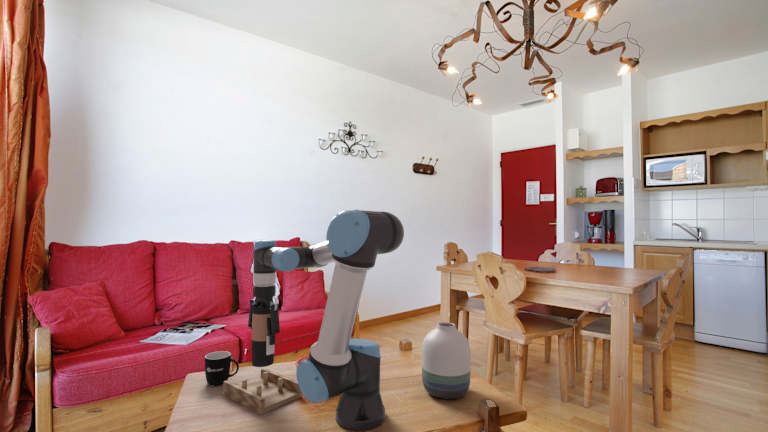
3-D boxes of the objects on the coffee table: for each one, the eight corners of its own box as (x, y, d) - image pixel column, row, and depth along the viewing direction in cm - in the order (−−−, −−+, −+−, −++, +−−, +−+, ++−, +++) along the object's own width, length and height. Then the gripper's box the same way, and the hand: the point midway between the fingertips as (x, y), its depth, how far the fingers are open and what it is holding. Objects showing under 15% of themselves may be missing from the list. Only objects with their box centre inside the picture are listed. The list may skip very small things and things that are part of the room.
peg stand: (301, 396, 129) (301, 380, 129) (261, 414, 116) (261, 396, 116) (263, 379, 142) (263, 365, 143) (223, 394, 130) (223, 378, 130)
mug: (200, 388, 135) (200, 359, 135) (209, 378, 144) (209, 351, 144) (235, 387, 136) (235, 358, 136) (241, 377, 145) (242, 350, 145)
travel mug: (250, 360, 132) (252, 303, 133) (273, 358, 135) (274, 302, 135) (251, 368, 125) (252, 308, 125) (275, 365, 128) (276, 306, 128)
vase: (412, 387, 137) (413, 321, 138) (450, 379, 145) (450, 316, 145) (440, 408, 122) (440, 333, 123) (480, 397, 130) (480, 327, 130)
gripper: (292, 286, 127) (290, 355, 127) (256, 280, 140) (255, 342, 139) (273, 289, 121) (271, 361, 121) (238, 282, 134) (236, 347, 133)
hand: (263, 351), depth 130 cm, fingers closed on travel mug, 8 cm apart
